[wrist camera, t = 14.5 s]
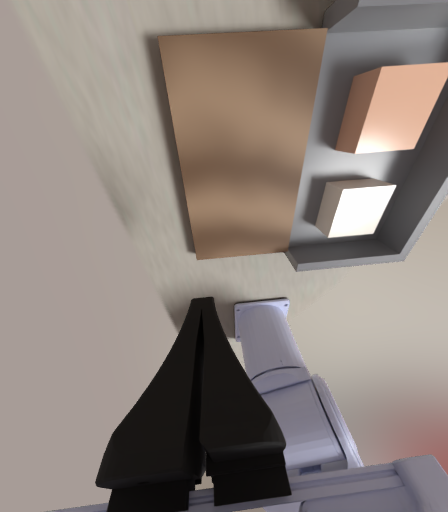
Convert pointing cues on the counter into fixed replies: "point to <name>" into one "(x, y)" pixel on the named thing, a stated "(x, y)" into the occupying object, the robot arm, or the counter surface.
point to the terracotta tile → (390, 107)
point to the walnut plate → (242, 132)
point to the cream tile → (353, 207)
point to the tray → (375, 163)
